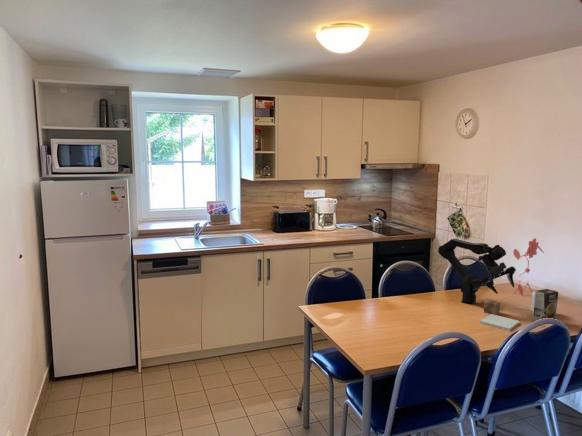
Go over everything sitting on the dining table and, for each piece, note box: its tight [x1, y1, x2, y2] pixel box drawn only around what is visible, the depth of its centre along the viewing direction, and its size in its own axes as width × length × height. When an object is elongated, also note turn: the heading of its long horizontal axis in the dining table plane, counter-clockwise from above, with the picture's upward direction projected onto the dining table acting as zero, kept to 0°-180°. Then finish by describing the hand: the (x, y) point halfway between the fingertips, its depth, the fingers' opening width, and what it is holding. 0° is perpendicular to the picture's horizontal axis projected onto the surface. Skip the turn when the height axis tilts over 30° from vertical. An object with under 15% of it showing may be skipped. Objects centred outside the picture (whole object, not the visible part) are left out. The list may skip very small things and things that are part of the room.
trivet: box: [480, 314, 521, 332], centre depth 226 cm, size 14×14×1 cm
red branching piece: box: [512, 237, 545, 296], centre depth 270 cm, size 15×26×35 cm, turn 124°
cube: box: [483, 299, 501, 316], centre depth 241 cm, size 6×6×6 cm
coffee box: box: [532, 288, 559, 322], centre depth 228 cm, size 9×6×16 cm
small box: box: [530, 291, 536, 313], centre depth 241 cm, size 8×6×10 cm
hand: (505, 290), depth 237 cm, fingers open, 9 cm apart
